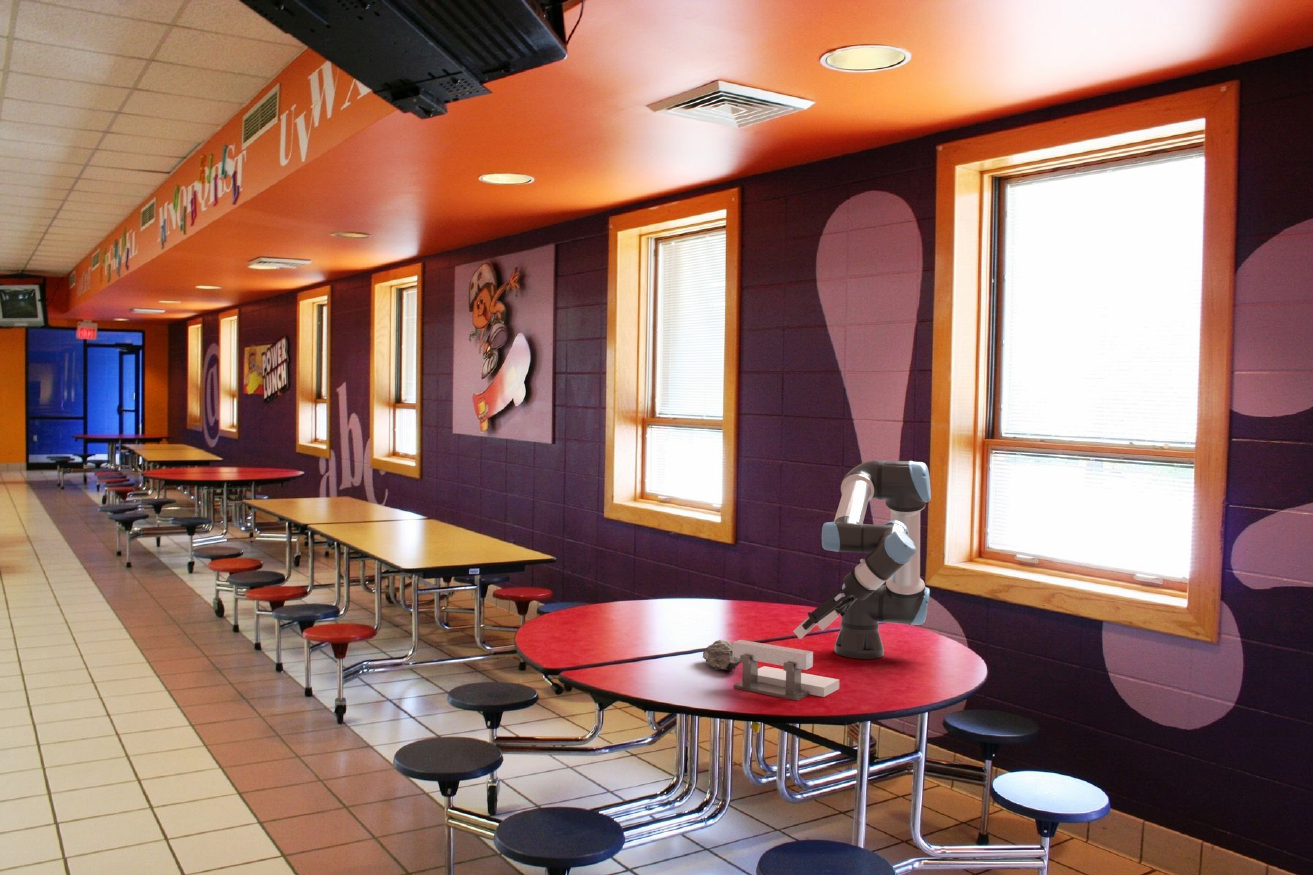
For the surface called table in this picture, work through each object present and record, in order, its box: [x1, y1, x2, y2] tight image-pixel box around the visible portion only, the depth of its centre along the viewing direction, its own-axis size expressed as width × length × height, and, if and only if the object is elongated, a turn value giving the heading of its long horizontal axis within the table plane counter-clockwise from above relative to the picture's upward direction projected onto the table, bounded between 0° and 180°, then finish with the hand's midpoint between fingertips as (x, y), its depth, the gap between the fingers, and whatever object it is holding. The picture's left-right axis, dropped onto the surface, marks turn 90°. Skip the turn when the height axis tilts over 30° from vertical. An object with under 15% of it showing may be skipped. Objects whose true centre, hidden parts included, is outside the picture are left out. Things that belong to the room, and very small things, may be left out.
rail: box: [732, 639, 814, 671], centre depth 259 cm, size 4×22×4 cm, turn 56°
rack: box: [733, 655, 810, 702], centre depth 259 cm, size 7×19×9 cm, turn 56°
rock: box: [702, 639, 741, 672], centre depth 283 cm, size 18×10×10 cm
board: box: [757, 665, 840, 698], centre depth 265 cm, size 10×23×2 cm, turn 56°
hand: (808, 630), depth 253 cm, fingers open, 13 cm apart
